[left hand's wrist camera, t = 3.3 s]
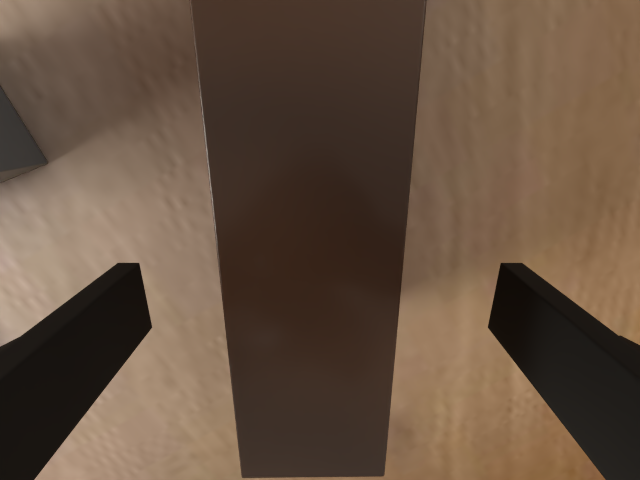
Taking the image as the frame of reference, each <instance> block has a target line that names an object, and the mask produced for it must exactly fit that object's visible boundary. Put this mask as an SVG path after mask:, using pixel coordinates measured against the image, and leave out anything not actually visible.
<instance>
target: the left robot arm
mask: <svg viewBox="0 0 640 480" xmlns="http://www.w3.org/2000/svg"><path fill="white" fill-rule="evenodd" d="M151 328H152V325H151V320H150V315H149V310H148V305H147V300H146V295H145V290H144V285H143V280H142V275H141V270H140V265H139V263H117V264H116V265H115V266H113V267H112V268H111V269H109V270H108V271H107V272H105V273H104V274H103V275H101V276H100V277H99V278H97V279H96V280H95V281H94V282H92V283H91V284H90V285H88V286H87V287H86V288H84V289H83V290H82V291H80V292H79V293H78V294H76V295H75V296H74V297H72V298H71V299H70V300H68V301H67V302H66V303H64V304H63V305H62V306H60V307H59V308H58V309H56V310H55V311H54V312H52V313H51V314H50V315H48V316H47V317H46V318H44V319H43V320H42V321H40V322H39V323H38V324H37V325H35V326H34V327H33V328H31V329H30V330H29V331H27V332H26V333H25V334H23V335H22V336H21V337H19V338H17V339H15V340H13V341H11V342H9V343H7V344H5V345H3V346H1V347H0V480H34V479H35V478H36V477H37V475H38V474H39V473H40V471H41V470H42V469H43V468H44V466H45V465H46V464H47V462H48V461H49V460H50V459H51V457H52V456H53V455H54V453H55V452H56V451H57V450H58V448H59V447H60V446H61V444H62V443H63V442H64V440H65V439H66V438H67V437H68V435H69V434H70V433H71V431H72V430H73V429H74V428H75V426H76V425H77V424H78V422H79V421H80V420H81V419H82V417H83V416H84V415H85V413H86V412H87V411H88V409H89V408H90V407H91V406H92V404H93V403H94V402H95V400H96V399H97V398H98V397H99V395H100V394H101V393H102V391H103V390H104V389H105V388H106V386H107V385H108V384H109V382H110V381H111V380H112V379H113V377H114V376H115V375H116V373H117V372H118V371H119V369H120V368H121V367H122V366H123V364H124V363H125V362H126V360H127V359H128V358H129V357H130V355H131V354H132V353H133V351H134V350H135V349H136V348H137V346H138V345H139V344H140V342H141V341H142V340H143V339H144V337H145V336H146V335H147V333H148V332H149V331H150V329H151ZM488 328H489V329H490V331H491V332H492V333H493V335H494V336H495V337H496V339H497V340H498V341H499V342H500V344H501V345H502V346H503V348H504V349H505V350H506V351H507V353H508V354H509V355H510V357H511V358H512V359H513V360H514V362H515V363H516V364H517V366H518V367H519V368H520V369H521V371H522V372H523V373H524V375H525V376H526V377H527V379H528V380H529V381H530V382H531V384H532V385H533V386H534V388H535V389H536V390H537V391H538V393H539V394H540V395H541V397H542V398H543V399H544V400H545V402H546V403H547V404H548V406H549V407H550V408H551V409H552V411H553V412H554V413H555V415H556V416H557V417H558V419H559V420H560V421H561V422H562V424H563V425H564V426H565V428H566V429H567V430H568V431H569V433H570V434H571V435H572V437H573V438H574V439H575V440H576V442H577V443H578V444H579V446H580V447H581V448H582V450H583V451H584V452H585V453H586V455H587V456H588V457H589V459H590V460H591V461H592V462H593V464H594V465H595V466H596V468H597V469H598V470H599V471H600V473H601V474H602V475H603V477H604V478H605V479H606V480H640V345H638V344H636V343H634V342H632V341H630V340H628V339H626V338H624V337H622V336H618V335H617V334H615V333H614V332H613V331H611V330H610V329H609V328H607V327H606V326H605V325H603V324H602V323H601V322H600V321H598V320H597V319H596V318H594V317H593V316H592V315H590V314H589V313H588V312H586V311H585V310H584V309H582V308H581V307H580V306H578V305H577V304H576V303H574V302H573V301H572V300H570V299H569V298H568V297H566V296H565V295H564V294H562V293H561V292H560V291H558V290H557V289H556V288H554V287H553V286H552V285H550V284H549V283H548V282H546V281H545V280H544V279H543V278H541V277H540V276H539V275H537V274H536V273H535V272H533V271H532V270H531V269H529V268H528V267H527V266H525V265H524V264H523V263H501V265H500V270H499V275H498V280H497V285H496V290H495V295H494V300H493V305H492V310H491V315H490V320H489V325H488Z"/></svg>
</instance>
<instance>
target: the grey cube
mask: <svg viewBox="0 0 640 480" xmlns="http://www.w3.org/2000/svg"><path fill="white" fill-rule="evenodd" d="M47 163H48V162H47V160H46V159H45V157H44V155H43V154H42V152H41V151H40V149H39V147H38V146H37V144H36V143H35V141H34V139H33V138H32V136H31V135H30V133H29V131H28V130H27V128H26V127H25V125H24V123H23V122H22V120H21V119H20V117H19V115H18V114H17V112H16V111H15V109H14V107H13V106H12V104H11V103H10V101H9V99H8V98H7V96H6V95H5V93H4V91H3V90H2V88H1V87H0V183H1V182H4V181H6V180H9V179H11V178H13V177H16V176H18V175H21V174H23V173H26V172H28V171H31V170H33V169H36V168H38V167H40V166H43V165H45V164H47Z"/></svg>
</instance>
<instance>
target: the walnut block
mask: <svg viewBox="0 0 640 480" xmlns="http://www.w3.org/2000/svg"><path fill="white" fill-rule="evenodd" d="M426 1H427V0H190V8H191V17H192V26H193V35H194V44H195V54H196V63H197V72H198V81H199V90H200V99H201V109H202V118H203V127H204V136H205V145H206V154H207V164H208V173H209V182H210V191H211V200H212V209H213V219H214V228H215V237H216V246H217V255H218V264H219V274H220V283H221V292H222V301H223V310H224V319H225V329H226V338H227V347H228V356H229V365H230V374H231V384H232V393H233V402H234V411H235V420H236V429H237V439H238V448H239V457H240V466H241V475H242V478H276V477H369V476H384V472H385V461H386V450H387V439H388V428H389V416H390V405H391V394H392V383H393V371H394V360H395V349H396V338H397V327H398V315H399V304H400V293H401V282H402V270H403V259H404V248H405V237H406V226H407V214H408V203H409V192H410V181H411V169H412V158H413V147H414V136H415V125H416V113H417V102H418V91H419V80H420V68H421V57H422V46H423V35H424V24H425V12H426Z"/></svg>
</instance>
